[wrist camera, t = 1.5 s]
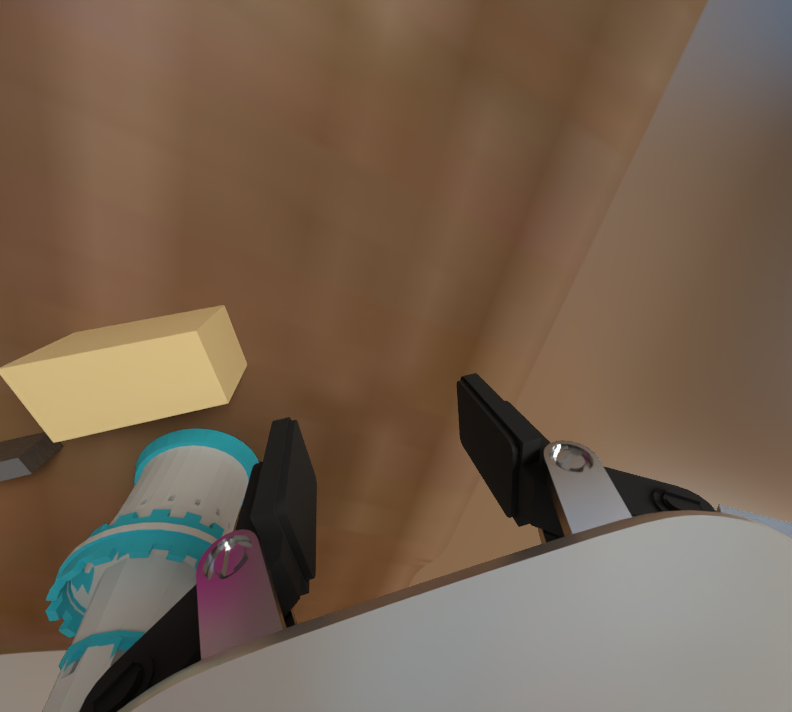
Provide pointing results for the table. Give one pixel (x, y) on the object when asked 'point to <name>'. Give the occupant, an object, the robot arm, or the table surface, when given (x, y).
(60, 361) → the yellow rectangular block
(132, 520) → the model tower
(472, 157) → the table surface
